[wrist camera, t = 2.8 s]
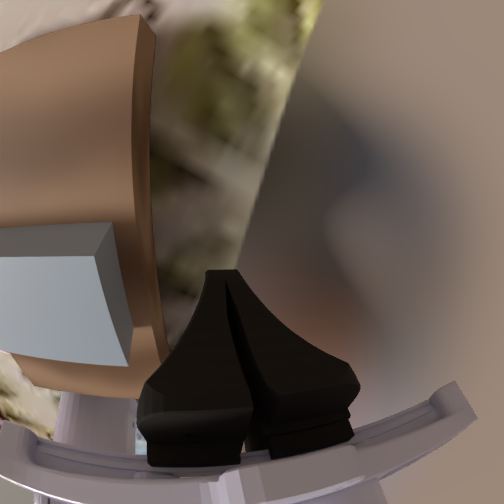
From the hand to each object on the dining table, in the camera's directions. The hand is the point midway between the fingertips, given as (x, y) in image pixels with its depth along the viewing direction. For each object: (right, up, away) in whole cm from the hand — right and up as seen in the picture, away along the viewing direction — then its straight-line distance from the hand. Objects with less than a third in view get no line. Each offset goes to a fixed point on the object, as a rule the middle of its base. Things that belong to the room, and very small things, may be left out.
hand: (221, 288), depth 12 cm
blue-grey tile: (-9, 0, -1) cm, 9 cm away
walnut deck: (-10, +2, +2) cm, 11 cm away
